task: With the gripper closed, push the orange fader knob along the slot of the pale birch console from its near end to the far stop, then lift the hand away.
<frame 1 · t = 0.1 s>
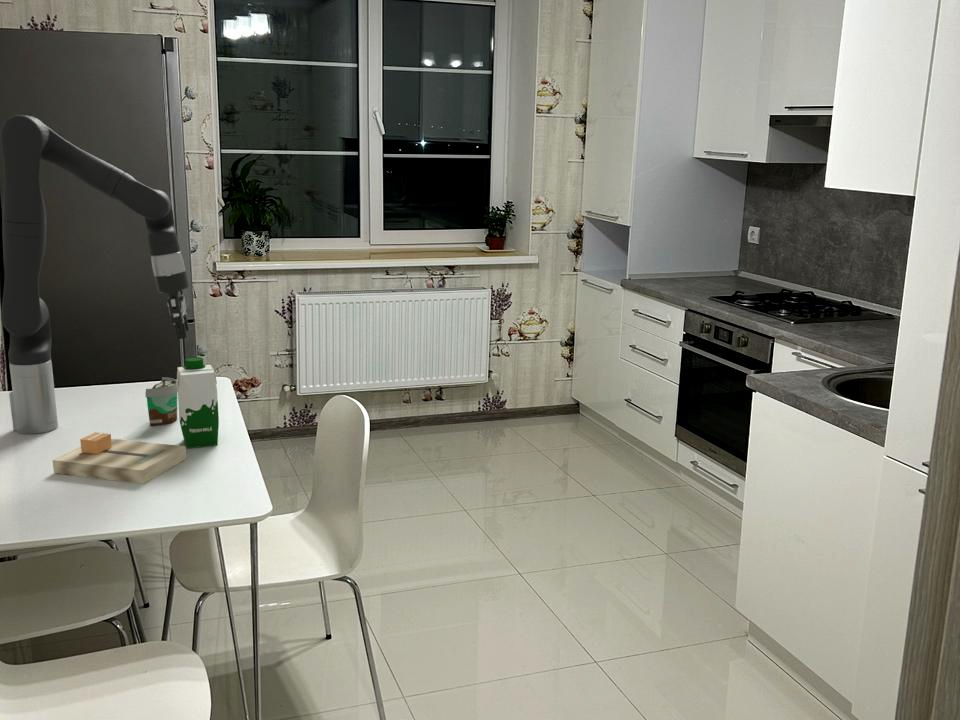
hand: (183, 334, 229), 22 cm above the table, tool pointing down, fingers open, 8 cm apart
milk carton: (200, 443, 217), on the table
fader console: (121, 465, 201), on the table
fader knob: (96, 442, 201), point 5 cm above the table, slide at 0.0 cm
food container: (168, 421, 233), on the table
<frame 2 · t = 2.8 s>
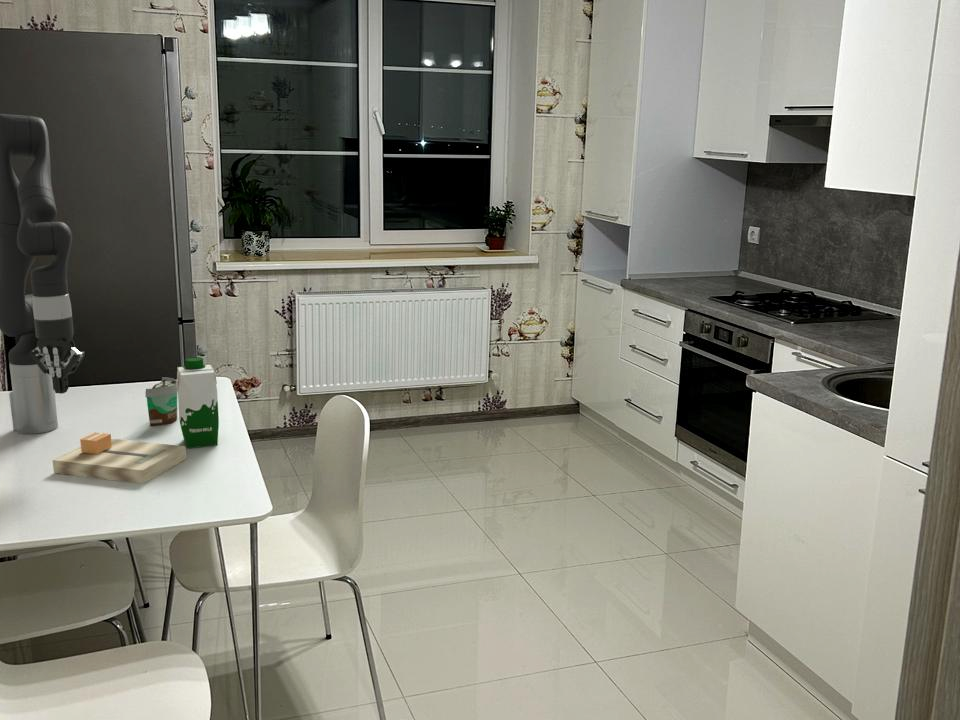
hand: (61, 392, 200), 16 cm above the table, tool pointing down, fingers closed
nothing on the table moved.
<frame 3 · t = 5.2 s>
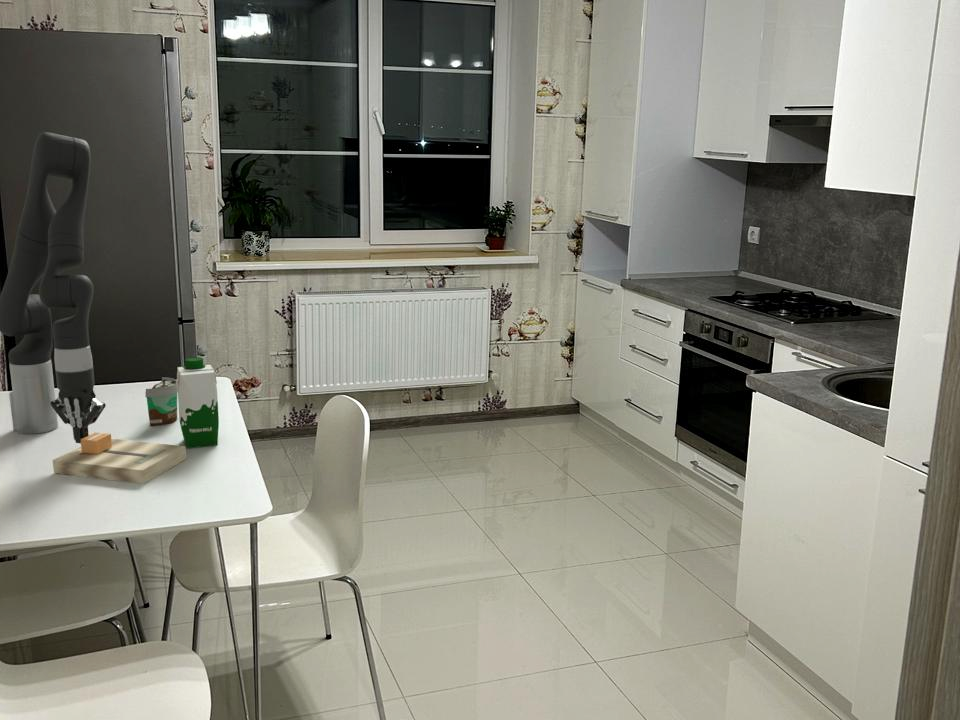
hand: (81, 442, 202), 5 cm above the table, tool pointing down, fingers closed
fader knob: (96, 442, 201), point 5 cm above the table, slide at 0.1 cm, touching gripper
everything else where it was.
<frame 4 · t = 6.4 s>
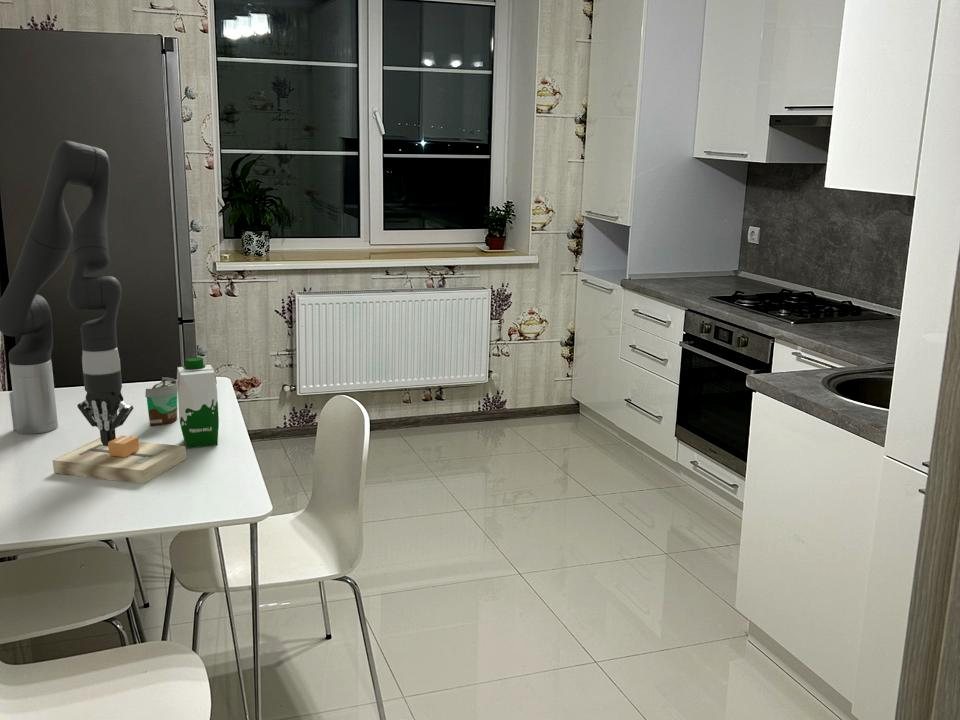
hand: (108, 445, 200), 5 cm above the table, tool pointing down, fingers closed
fader knob: (123, 445, 199), point 5 cm above the table, slide at 7.0 cm, touching gripper
everything else where it was.
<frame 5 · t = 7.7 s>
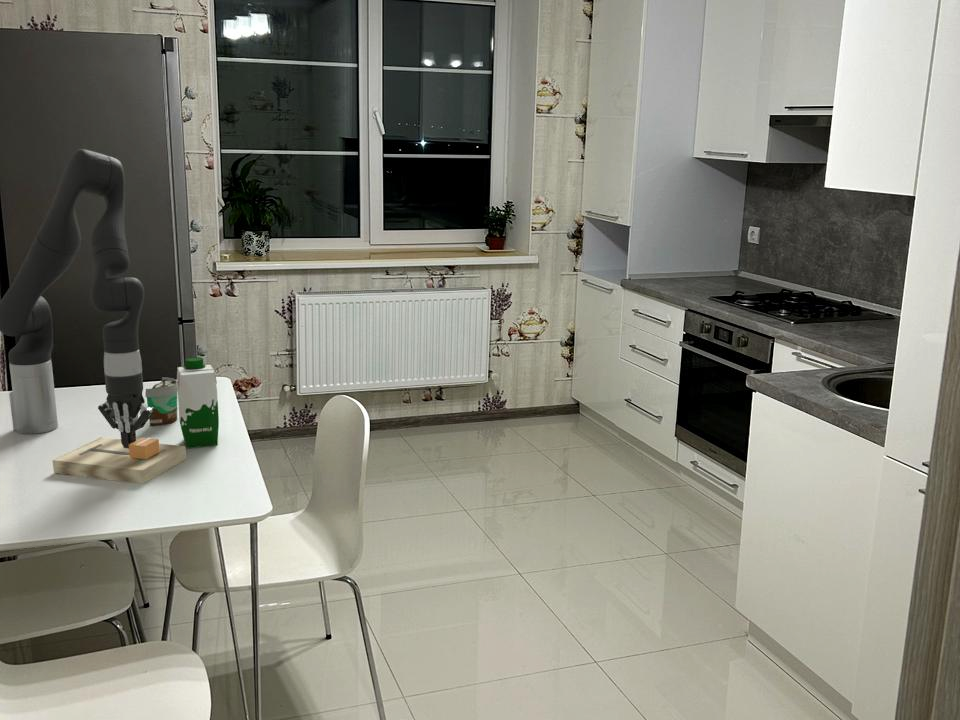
hand: (129, 447, 199), 5 cm above the table, tool pointing down, fingers closed
fader knob: (144, 448, 198), point 5 cm above the table, slide at 12.1 cm, touching gripper
everything else where it was.
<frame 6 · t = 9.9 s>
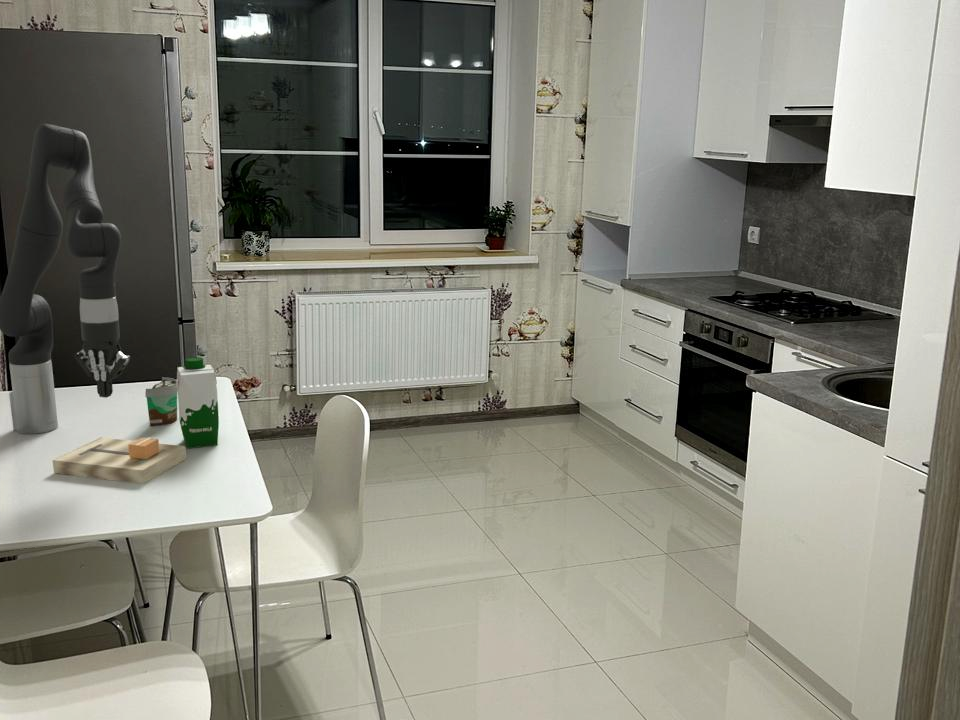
hand: (105, 396, 197), 16 cm above the table, tool pointing down, fingers closed
fader knob: (144, 448, 198), point 5 cm above the table, slide at 12.1 cm
everything else where it was.
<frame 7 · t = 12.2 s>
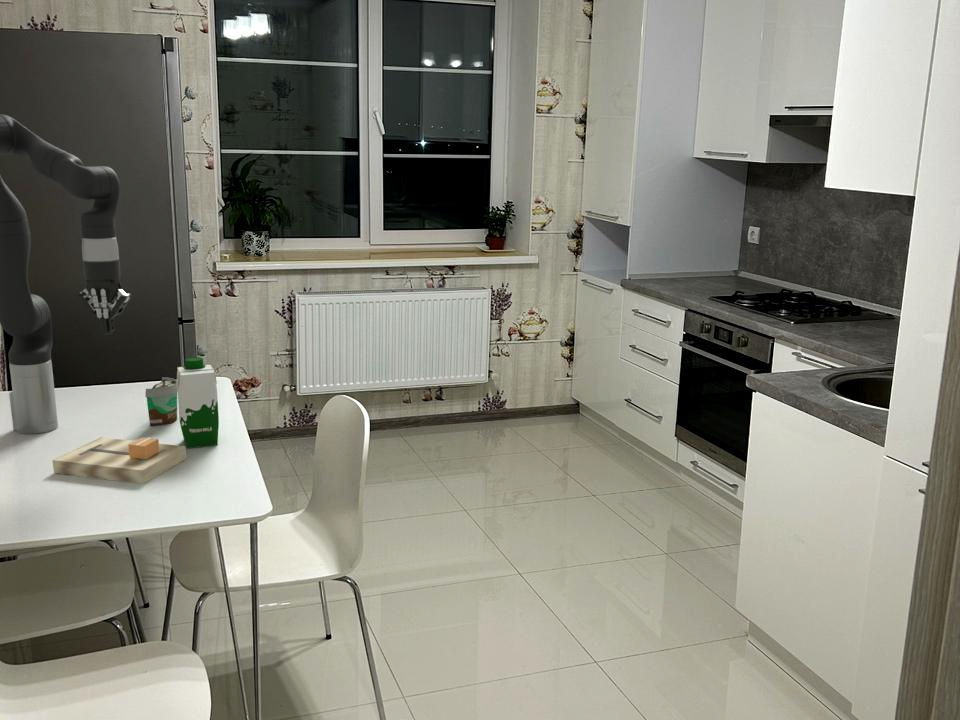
hand: (107, 333, 207), 27 cm above the table, tool pointing down, fingers closed
nothing on the table moved.
at the end: fader knob slide at 12.1 cm; milk carton moved 0.2 cm from its start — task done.
